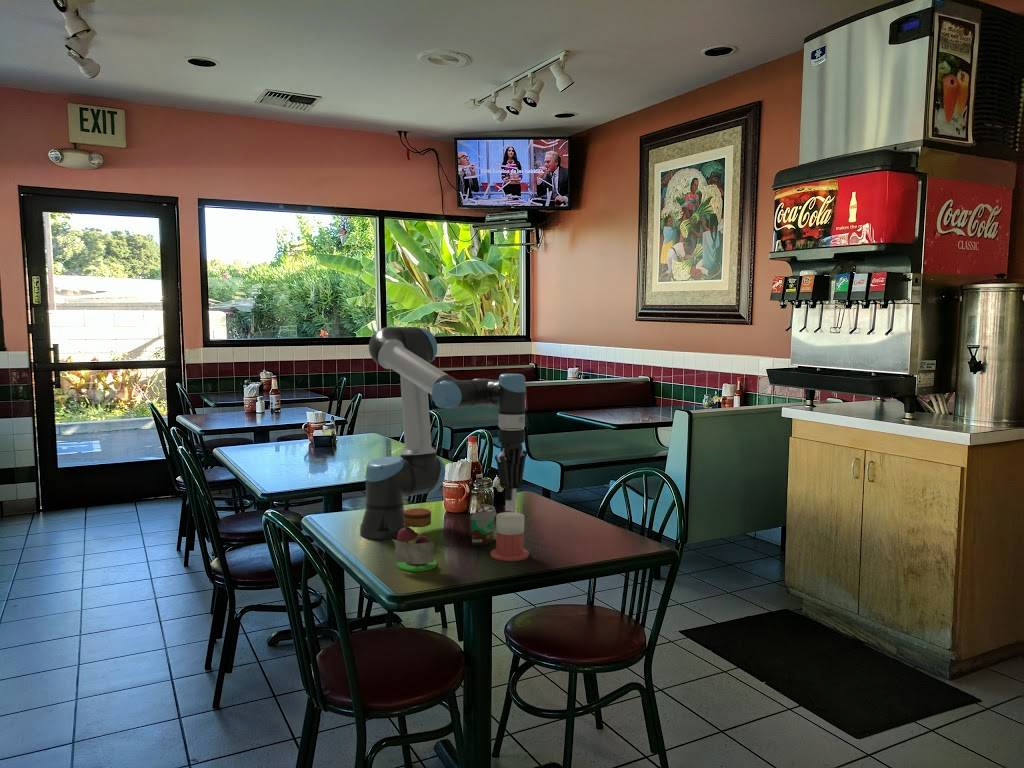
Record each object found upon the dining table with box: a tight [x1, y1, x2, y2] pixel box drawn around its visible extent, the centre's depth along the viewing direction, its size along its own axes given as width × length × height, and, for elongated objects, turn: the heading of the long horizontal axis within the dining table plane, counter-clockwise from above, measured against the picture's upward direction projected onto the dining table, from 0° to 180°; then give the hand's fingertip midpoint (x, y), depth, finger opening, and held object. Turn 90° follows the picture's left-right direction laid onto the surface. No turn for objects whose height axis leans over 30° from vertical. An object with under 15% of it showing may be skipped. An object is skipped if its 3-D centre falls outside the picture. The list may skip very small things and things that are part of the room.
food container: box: [470, 503, 497, 546], centre depth 228 cm, size 12×6×10 cm, turn 168°
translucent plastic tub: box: [391, 507, 438, 572], centre depth 203 cm, size 12×13×15 cm
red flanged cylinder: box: [490, 532, 530, 562], centre depth 214 cm, size 11×11×7 cm
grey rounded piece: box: [495, 511, 525, 535], centre depth 214 cm, size 8×8×7 cm
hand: (510, 510), depth 213 cm, fingers closed
